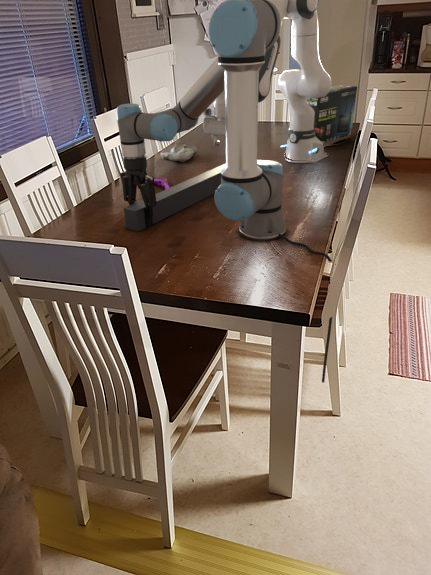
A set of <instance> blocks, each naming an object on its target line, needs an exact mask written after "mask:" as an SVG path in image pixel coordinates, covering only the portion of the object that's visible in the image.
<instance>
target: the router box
mask: <svg viewBox="0 0 431 575" xmlns="http://www.w3.org/2000/svg"><path fill="white" fill-rule="evenodd" d="M357 93H358V86H356V85H350V84H339V85H338V84H337V85H334V86H331V89H330V91H329V93H328V94H327V95H326V96H325V97H320V98H307V97H306V99H307V102H308V104H309V105H310V106H311V107H312V108H313V109H314V112H315V116H314V129H315V128H318V129H319V133H316V132H315V134H316V137H317V138H318V139H319V140H320V141H321V142H322V143H323V144H325V143H328V142H331V141H333V140H336V139H338V138H341V137H344V136H347V135H351V136H352V134H351V132H353V125H354V115H355V109H356V99H357Z"/></svg>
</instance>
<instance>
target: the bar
mask: <svg viewBox="0 0 431 575" xmlns="http://www.w3.org/2000/svg"><path fill="white" fill-rule="evenodd" d="M225 166H226V163H223V164H220V165H219V166H216V167H214V168H211V169H210V170H207V171H205V172H203V173H201V174H198V175H196V176H194V177H191V178H189V179H187V180H185V181H182V182H180V183H177V184H175V185H173V186H171V187H170V188H168V189H166V190H165V189H164V190H161V191H159V192H157V193H155V195H156V202H157V205H156V206H154V207H152V209H153V216H152V219H153V224H152V225H154V224H157V223H158V222H160V221H162V220H164V219H166V218H168V217H170V216H173V215H174V214H176V213H178V212H181V211H182V210H184V209H187V208H189V207H190V206H192V205H194V204H196V203H198V202H200V201H202V200H204V199H206V198H208V197H210V196H212V195H215V191H216V190H217V188H218V187H219V186H220V185H221V170H222V169H223V168H224V167H225ZM148 204H149V203H148ZM144 208H145V204H144V201H143V199H141V200H138V201H136V203H134V204H132V205H129V204H128V205H127V206H124V207H123V213H124V214H123V215H124V219H125V220H124V221H125V228H126V229H129V230H133V231H136V232H139V231H142V230H144V229H146V228H147V226H146V221H145V213H144Z"/></svg>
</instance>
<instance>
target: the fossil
mask: <svg viewBox="0 0 431 575" xmlns="http://www.w3.org/2000/svg"><path fill="white" fill-rule="evenodd" d="M198 153H199V150H198V148H197V146H195V145H188V146H187V145H186V143H184V142H183V143H181V142H176V143H175V145H174V146H173V147H172V148H171V149H170V150H168V149H165V150H162V151H161V152H160V156H161V158H162V159H163V160H169V161H174V162H177V161H179V162H180V163H185V162H187V161H188V160H190V159H191V158H192V157H193V156H194V155H197V154H198Z"/></svg>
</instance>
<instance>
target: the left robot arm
mask: <svg viewBox="0 0 431 575" xmlns="http://www.w3.org/2000/svg"><path fill="white" fill-rule="evenodd" d="M281 31H282V25H281V17H280V14H279V12H278V9H277V8H276V7H275V5H274V4H273V3H271V2H270V1H268V0H224V1H223V2H222V3H220V4H219V5H218V6H217V7H216V8H215V10H214V11H213V12H212V14H211V17H210V18H209V23H208V39H209V42H210V45H211V47H213V49H214V52H216V53H217V57H216V58H215V60H214V61H213V62H212V63H211V64H210V65H209V66H208V68H207V69H206V70H204V72H203V73H202V74H201V76H200V77H198V79H197V80H196V81H195V83H194V84H193V85H192V86H191V87H190V89H188V91H187V92H185V94H184V95H183V97H182V98H181V99H180V100H179V101H178V102H177V103H176V105H175V106H174V107H171V108H168V109H165V110H162V111H159V112H154V113H153V112H152V113H151V112H143V111H142V107H141V105H140V104H138V103H122V104H120V105H118V106H117V107H116V110H115V112H116V122H117V128H118V133H119V134H118V135H119V141H120V151H121V156H122V157H123V158H122V164H123V169H124V171H122V172H119V176H120V179H121V186H122V193H123V194H122V195H123V200H124V202H127V203H128V206H129V205H132V204H134V203H136V202H138V199H137V191H138V190H139V191H140V195H141V198H142V200H143V201H144V204H145V208H144V213H145V221H146V226H147V227H150V226H153V225H154V224H153V219H152V216H153V209H152V207H154V206H156V205H157V202H156V195H155V194H156V188H155V184H154V180H155V179H156V178H155V177H154V176H149V174H148V172H147V167H148V161H147V160H148V159H147V156H146V151H147V150H146V144H145V140H149V141H157V142H162V143H163V142H171V141H173V140H174V138H175V137H176V136H177V134H179V133H182V132H186V131H190V130H191V129H192V128H195V127H196V126H197V125H198V123H199V120H200V119H199V118H200V117H201V115H202V114H203V112H204V111H205V110H206V109H207V108H210V107H211V105H212V104H214V101H215V100H216V99H217V98H218V97H219V95H220V94H221V93H222V92H223V91H224V90H225V125H226V136H225V164H226V166H225V167H224V168H223V169H222V170H221V185H220V186H219V187H218V188H217V190H216V191H215V193H214V194H213V195H214V196H213V200H214V204H215V207H216V209H217V210H218V212H219V213H221V215H222V216H223V217H224V218H226V219H228V220H229V221H232V222H239V226H238V232H239V235H240V236H241V237H242V238H244V239H247V240H250V241H254V242H271V241H277V240H279V239H283V240H284V241H286V242H287V243H288V244H291V245H293V246H300V247H303V248H305V249H306V250H307V251H308V252H310V253H311V254H314V255H318V256H323V257H324V258H325V259H326V260H327V261H328V262H330V263H332V262H333V260H332V258H331V257H330V256H329V255H328V254H327V253H326V252H322V251H317V250H313V249H312V248H311V247H310V246H309V245H308V244H306V243H302V242H297V241H293V240H291V239H289V238H288V237H286V236H285V235H286V234H287V223H286V221H285V216H284V214H283V210H282V200H283V183H284V168H283V164H282V163H280V162H278V161H275V160H270V159H258V140H259V138H258V134H259V102H258V81H259V68H260V67H261V66H262V65H263V64H264V63H265V53H266V52H267V51H268V50H269V49H270V48H271V47H272V46H273V45H274V43H275V42H276V41H277V39H278V37H279V36H280V34H281ZM137 188H138V190H137ZM148 203H149V204H148ZM147 227H146V228H147ZM332 323H333V316H330V317H329V319H328V327H327V335H326V343H325V351H324V358H323V366H322V375H321V383H325V380H326V370H327V362H328V354H329V346H330V339H331V338H330V337H331V331H332Z"/></svg>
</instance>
